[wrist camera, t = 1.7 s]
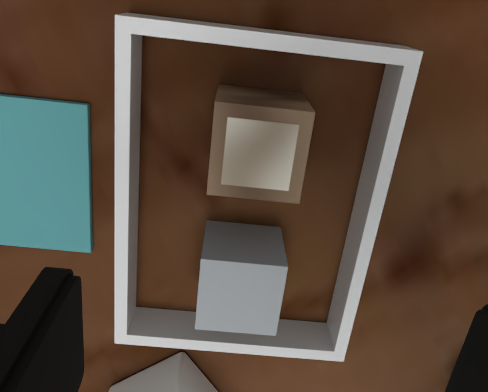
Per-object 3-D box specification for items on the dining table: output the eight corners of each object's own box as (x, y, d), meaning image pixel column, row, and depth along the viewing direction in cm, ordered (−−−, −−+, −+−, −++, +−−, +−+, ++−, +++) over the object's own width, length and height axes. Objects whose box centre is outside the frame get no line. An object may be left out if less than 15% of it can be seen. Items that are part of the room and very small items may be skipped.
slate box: (280, 226, 31) (288, 266, 26) (270, 288, 33) (275, 335, 28) (206, 219, 31) (200, 258, 26) (200, 282, 33) (194, 329, 28)
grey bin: (404, 45, 26) (423, 51, 24) (335, 332, 34) (343, 361, 32) (128, 12, 25) (114, 14, 23) (124, 314, 34) (114, 343, 31)
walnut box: (302, 92, 27) (315, 112, 23) (289, 171, 29) (299, 204, 25) (218, 83, 27) (214, 101, 22) (211, 163, 29) (206, 195, 24)
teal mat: (89, 103, 27) (87, 105, 27) (92, 249, 31) (90, 252, 31) (-84, 84, 27) (-90, 86, 26) (-59, 235, 31) (-63, 238, 30)
